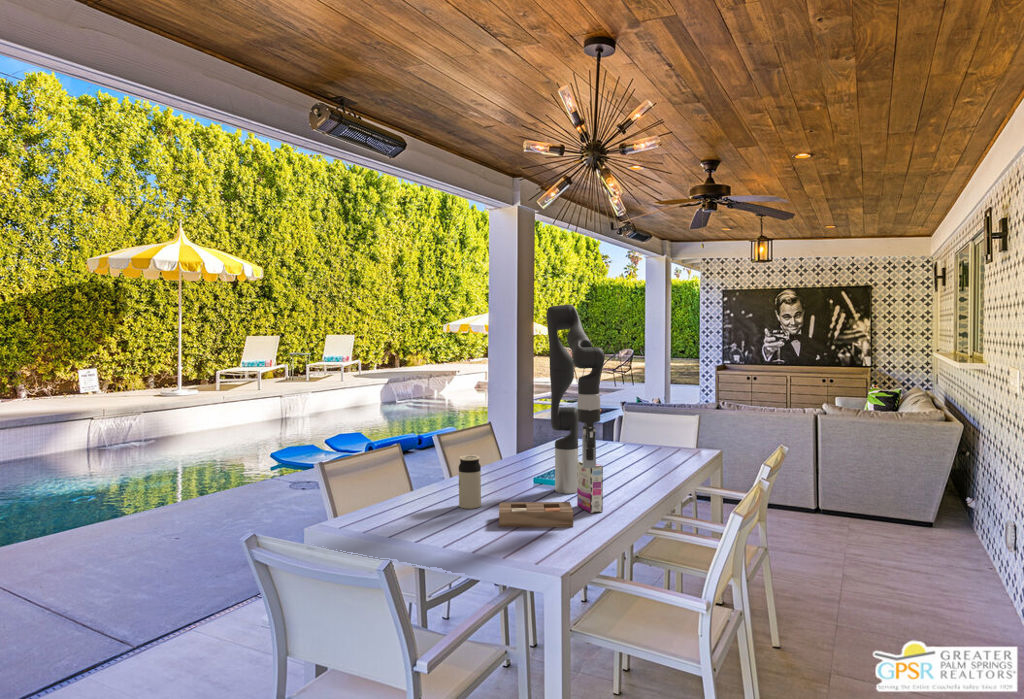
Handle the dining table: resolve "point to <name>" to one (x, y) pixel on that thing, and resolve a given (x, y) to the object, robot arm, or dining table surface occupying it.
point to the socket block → (535, 514)
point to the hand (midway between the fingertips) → (589, 458)
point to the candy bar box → (590, 488)
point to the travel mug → (469, 482)
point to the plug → (586, 462)
